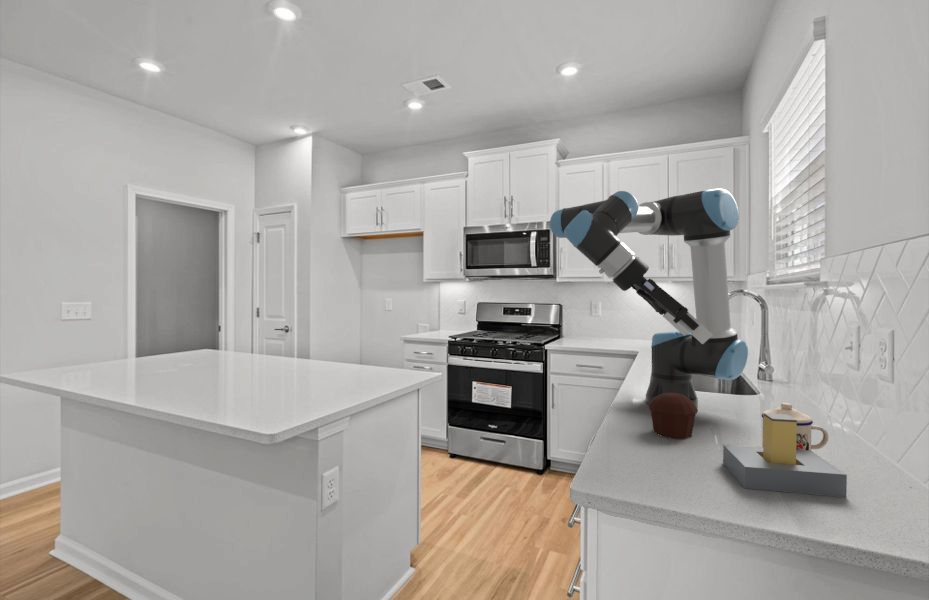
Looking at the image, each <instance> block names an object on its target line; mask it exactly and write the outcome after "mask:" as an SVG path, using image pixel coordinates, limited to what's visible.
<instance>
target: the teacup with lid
mask: <svg viewBox="0 0 929 600" xmlns="http://www.w3.org/2000/svg"><path fill="white" fill-rule="evenodd" d="M764 413H771V414H787V415H789V416H790V417H792V418H794V419H796V420H797V436H796V450H810V451H812V450H819V449H822V448H824V447H825V446H826V445H827V444H828V443H829V434H828V431H827V430H826V429H825V428H824V427H821V426H819V425H814V424H813V423H814V422H813V419H812V417H811V416H809V415H808V414H805V413H803V412H801V411H799V410H797V409H795V408H793V404H791V403H789V402H782V403H781V404H780V406H777V407H775V408H771V409H767V410H764V411H762V413H761V418H762V427H763V426H764ZM812 430H817V431H821V432H822V439H821V441H820V442H819V443H817V444H812ZM761 439H762V440H761V441H762V443H761V445H762V446H761V447H763V437H762V438H761Z"/></svg>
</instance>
